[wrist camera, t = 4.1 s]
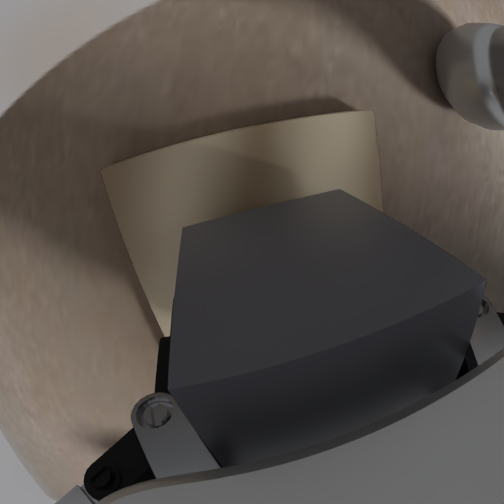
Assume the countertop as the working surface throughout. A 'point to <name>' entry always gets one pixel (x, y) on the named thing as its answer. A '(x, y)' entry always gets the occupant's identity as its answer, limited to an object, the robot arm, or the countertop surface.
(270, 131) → the post base
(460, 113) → the plastic bottle
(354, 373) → the dark grey cube
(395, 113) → the countertop surface
